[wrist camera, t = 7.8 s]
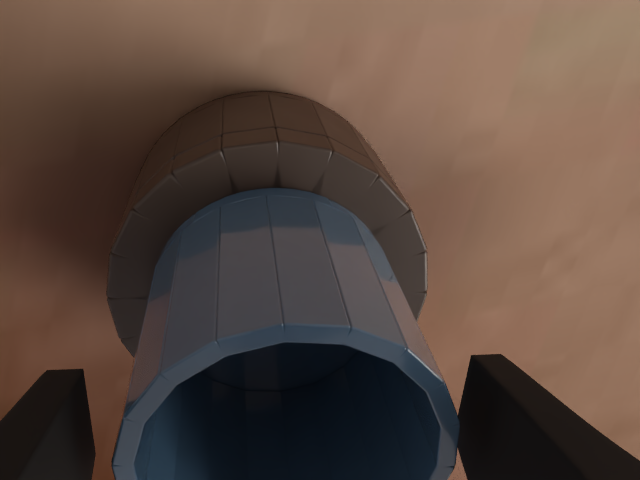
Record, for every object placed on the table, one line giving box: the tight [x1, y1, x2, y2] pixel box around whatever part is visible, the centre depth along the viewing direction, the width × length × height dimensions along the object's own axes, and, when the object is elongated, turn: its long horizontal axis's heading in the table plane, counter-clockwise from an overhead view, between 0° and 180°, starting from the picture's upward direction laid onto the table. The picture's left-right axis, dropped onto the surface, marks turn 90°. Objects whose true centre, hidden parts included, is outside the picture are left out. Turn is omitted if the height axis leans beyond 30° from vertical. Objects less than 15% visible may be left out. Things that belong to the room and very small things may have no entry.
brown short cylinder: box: [106, 92, 427, 357], centre depth 17 cm, size 8×8×4 cm
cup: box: [111, 188, 460, 480], centre depth 12 cm, size 6×6×5 cm
